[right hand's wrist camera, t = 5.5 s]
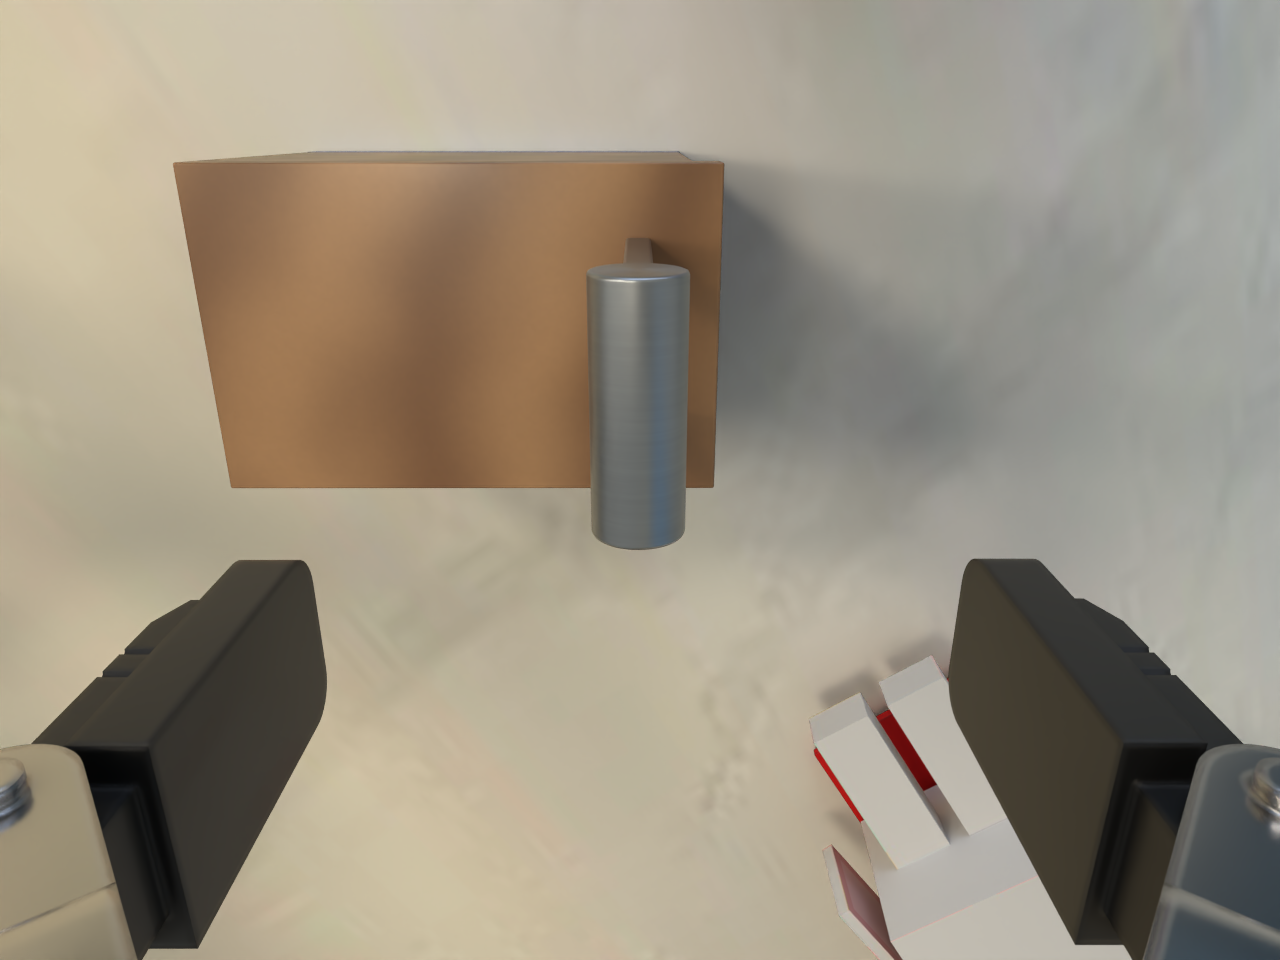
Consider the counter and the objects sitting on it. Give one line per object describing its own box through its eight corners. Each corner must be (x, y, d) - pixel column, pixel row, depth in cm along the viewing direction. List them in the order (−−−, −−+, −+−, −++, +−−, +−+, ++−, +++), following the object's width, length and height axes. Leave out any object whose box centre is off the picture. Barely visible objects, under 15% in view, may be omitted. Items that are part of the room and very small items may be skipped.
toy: (1040, 700, 33) (1362, 1242, 39) (949, 572, 46) (1200, 991, 51) (758, 838, 36) (1097, 1330, 41) (747, 680, 49) (1006, 1070, 54)
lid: (720, 160, 26) (763, 178, 17) (710, 473, 29) (742, 624, 20) (193, 161, 25) (-42, 178, 17) (247, 474, 29) (76, 624, 20)
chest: (678, 151, 35) (694, 160, 26) (675, 385, 39) (687, 473, 29) (317, 151, 35) (193, 160, 26) (346, 385, 39) (247, 474, 29)
